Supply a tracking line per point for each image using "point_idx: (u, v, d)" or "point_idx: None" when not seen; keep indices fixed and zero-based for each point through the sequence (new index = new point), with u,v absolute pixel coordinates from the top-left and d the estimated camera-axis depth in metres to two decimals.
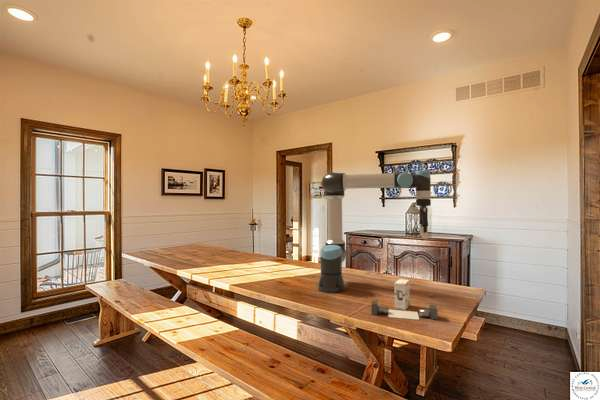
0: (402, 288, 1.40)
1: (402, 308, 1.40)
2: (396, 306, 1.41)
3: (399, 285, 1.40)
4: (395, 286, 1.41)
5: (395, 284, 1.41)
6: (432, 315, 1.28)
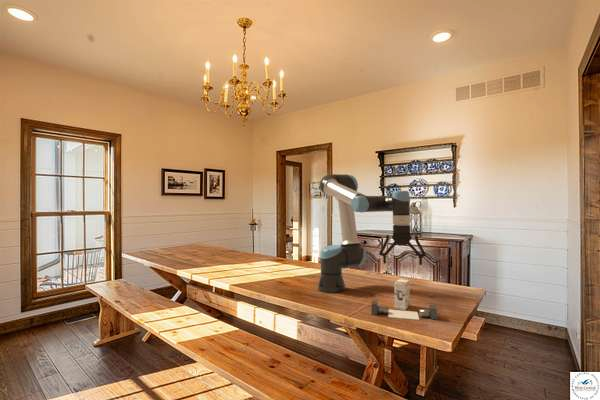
0: (402, 288, 1.40)
1: (402, 308, 1.40)
2: (396, 306, 1.41)
3: (399, 285, 1.40)
4: (395, 286, 1.41)
5: (395, 284, 1.41)
6: (432, 315, 1.28)
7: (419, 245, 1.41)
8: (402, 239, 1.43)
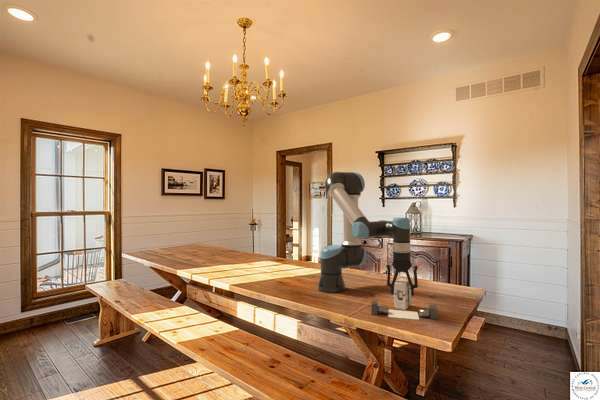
0: (402, 288, 1.40)
1: (402, 308, 1.40)
2: (396, 306, 1.41)
3: (399, 285, 1.40)
4: (395, 286, 1.41)
5: (395, 284, 1.41)
6: (432, 315, 1.28)
7: (415, 276, 1.41)
8: (402, 265, 1.43)
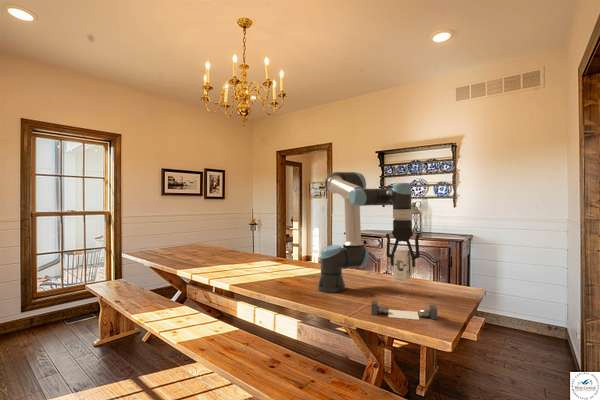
0: (402, 257, 1.29)
1: (403, 280, 1.29)
2: (396, 277, 1.31)
3: (399, 255, 1.30)
4: (395, 256, 1.31)
5: (395, 254, 1.31)
6: (432, 315, 1.28)
7: (417, 245, 1.31)
8: (403, 234, 1.33)
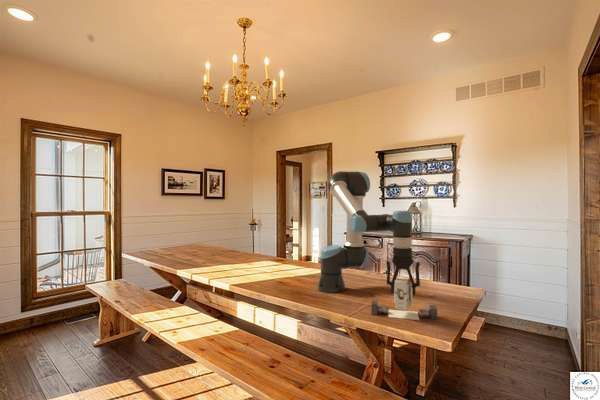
0: (403, 286, 1.29)
1: (403, 308, 1.29)
2: (397, 306, 1.31)
3: (400, 283, 1.30)
4: (395, 284, 1.31)
5: (395, 282, 1.31)
6: (432, 315, 1.28)
7: (417, 273, 1.31)
8: (403, 262, 1.33)
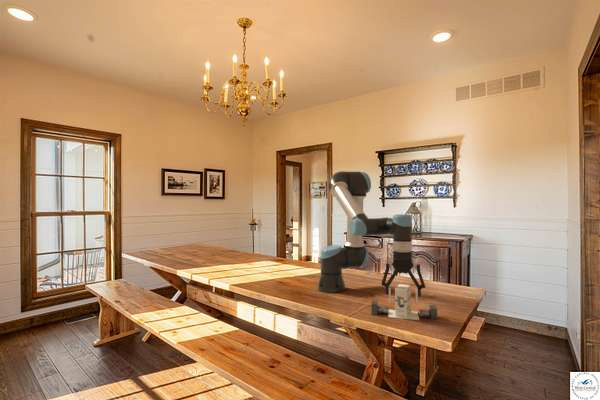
0: (403, 294, 1.29)
1: (404, 316, 1.30)
2: (397, 314, 1.31)
3: (400, 291, 1.30)
4: (396, 292, 1.31)
5: (396, 290, 1.31)
6: (432, 315, 1.28)
7: (420, 275, 1.31)
8: (403, 266, 1.33)
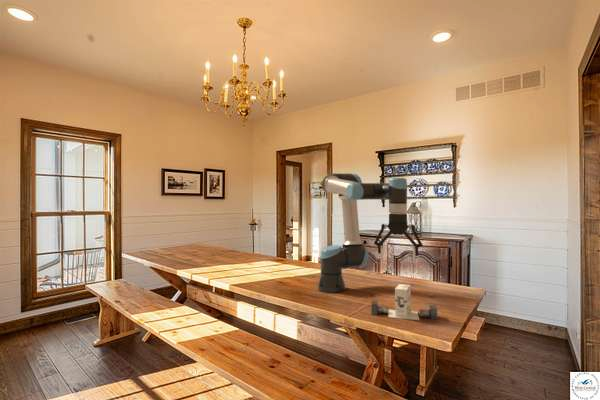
0: (403, 294, 1.29)
1: (404, 316, 1.30)
2: (397, 314, 1.31)
3: (400, 291, 1.30)
4: (396, 292, 1.31)
5: (396, 290, 1.31)
6: (432, 315, 1.28)
7: (415, 235, 1.35)
8: (398, 228, 1.37)
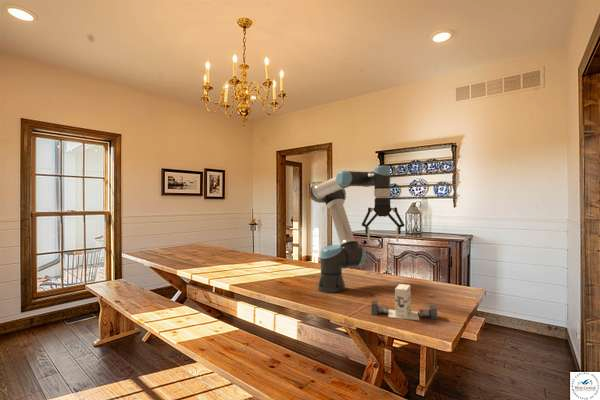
0: (403, 294, 1.29)
1: (404, 316, 1.30)
2: (397, 314, 1.31)
3: (400, 291, 1.30)
4: (396, 292, 1.31)
5: (396, 290, 1.31)
6: (432, 315, 1.28)
7: (398, 216, 1.52)
8: (383, 211, 1.54)
